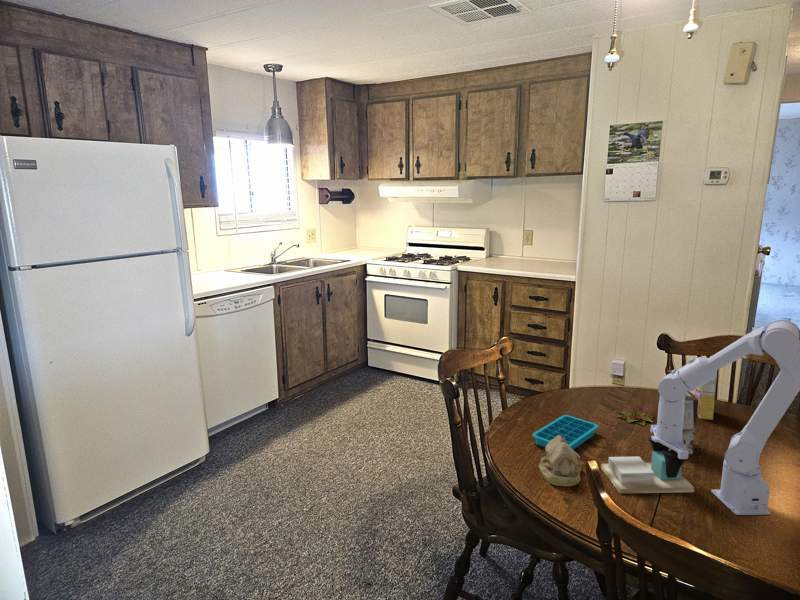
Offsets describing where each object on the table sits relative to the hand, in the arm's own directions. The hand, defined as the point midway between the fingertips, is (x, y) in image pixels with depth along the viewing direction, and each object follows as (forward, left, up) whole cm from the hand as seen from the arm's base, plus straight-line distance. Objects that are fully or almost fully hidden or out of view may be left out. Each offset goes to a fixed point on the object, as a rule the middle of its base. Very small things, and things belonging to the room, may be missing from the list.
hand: (665, 470), depth 128 cm
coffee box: (+17, -12, -2) cm, 21 cm away
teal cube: (0, 0, -1) cm, 1 cm away
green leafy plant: (+36, -9, -3) cm, 37 cm away
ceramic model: (+4, +25, -3) cm, 26 cm away
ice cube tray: (+23, +18, -3) cm, 29 cm away
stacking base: (0, +5, -2) cm, 6 cm away
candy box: (+38, -32, -2) cm, 50 cm away
